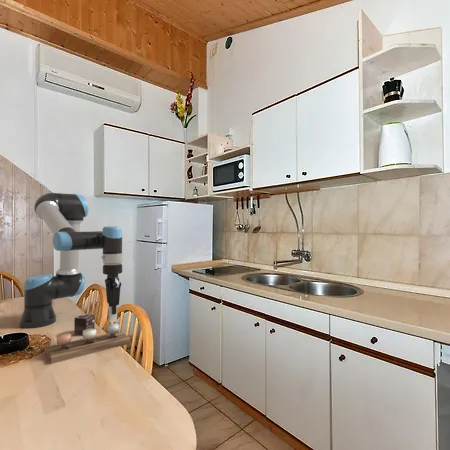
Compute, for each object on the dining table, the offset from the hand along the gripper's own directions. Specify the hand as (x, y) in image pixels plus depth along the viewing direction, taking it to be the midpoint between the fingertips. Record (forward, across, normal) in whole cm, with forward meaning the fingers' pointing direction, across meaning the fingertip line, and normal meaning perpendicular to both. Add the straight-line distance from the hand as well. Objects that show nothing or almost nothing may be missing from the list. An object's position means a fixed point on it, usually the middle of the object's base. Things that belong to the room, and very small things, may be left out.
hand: (113, 321), depth 122 cm
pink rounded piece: (+6, 0, -18) cm, 19 cm away
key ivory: (+6, 0, -9) cm, 11 cm away
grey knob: (+6, 0, 0) cm, 6 cm away
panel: (+8, 0, -9) cm, 12 cm away
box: (+9, -20, -6) cm, 22 cm away
